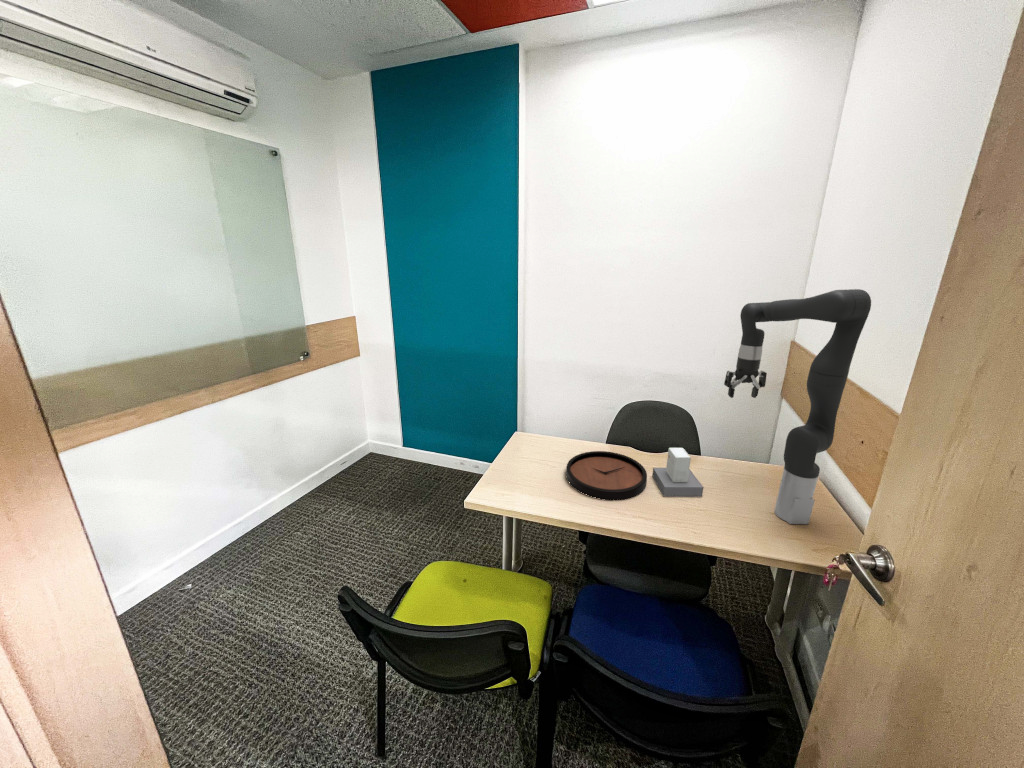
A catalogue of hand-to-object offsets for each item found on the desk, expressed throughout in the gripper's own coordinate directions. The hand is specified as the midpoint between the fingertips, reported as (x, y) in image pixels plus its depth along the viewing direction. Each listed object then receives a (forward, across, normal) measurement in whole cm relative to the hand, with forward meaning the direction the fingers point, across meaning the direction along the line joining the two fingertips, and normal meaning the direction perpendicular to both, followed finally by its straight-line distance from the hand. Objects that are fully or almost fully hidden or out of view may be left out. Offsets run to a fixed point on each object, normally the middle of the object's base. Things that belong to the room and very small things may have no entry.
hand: (742, 397), depth 154 cm
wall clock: (+33, -52, -6) cm, 62 cm away
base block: (+32, -26, -12) cm, 43 cm away
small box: (+28, -26, -12) cm, 40 cm away
